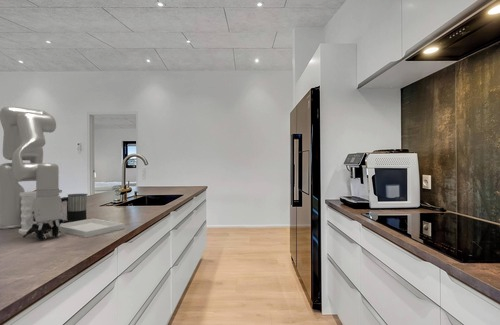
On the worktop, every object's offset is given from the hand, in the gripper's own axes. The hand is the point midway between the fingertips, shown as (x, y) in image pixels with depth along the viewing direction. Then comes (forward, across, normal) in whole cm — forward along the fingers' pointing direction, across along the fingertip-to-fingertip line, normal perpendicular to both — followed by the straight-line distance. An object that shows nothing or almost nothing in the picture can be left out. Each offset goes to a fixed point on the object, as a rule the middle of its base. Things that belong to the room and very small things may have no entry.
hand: (47, 237), depth 115 cm
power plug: (+1, +1, -6) cm, 6 cm away
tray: (+1, -18, -1) cm, 18 cm away
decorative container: (+1, -4, -21) cm, 21 cm away
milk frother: (+1, -22, -23) cm, 32 cm away
